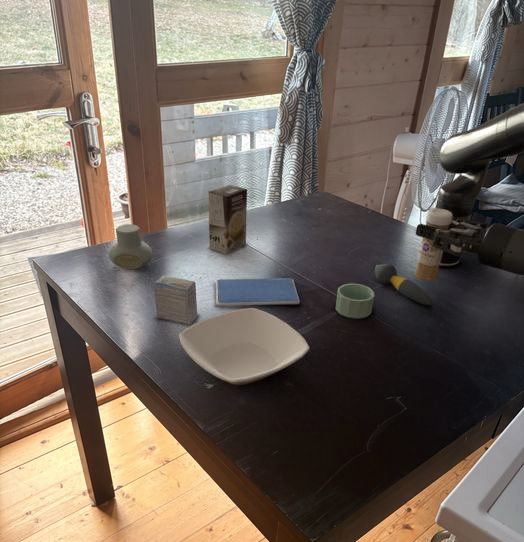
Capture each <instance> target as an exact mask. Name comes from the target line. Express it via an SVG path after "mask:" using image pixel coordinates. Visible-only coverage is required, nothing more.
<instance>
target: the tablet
mask: <svg viewBox="0 0 524 542" xmlns="http://www.w3.org/2000/svg"><path fill="white" fill-rule="evenodd" d="M215 303H216V306H217V307H235V306H273V305H275V306H276V305H280V306H281V305H299V304H300V303H301V299H300V298H299V294H298V291H297V288H296V285H295V282H294V279H293V278H291V277H282V278H281V277H277V278H275V277H274V278H226V279H225V278H224V279H223V278H221V279H215Z"/></svg>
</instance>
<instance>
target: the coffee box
mask: <svg viewBox="0 0 524 542" xmlns="http://www.w3.org/2000/svg"><path fill="white" fill-rule="evenodd" d="M247 206H248V188H245V187H241V186H238V185H232V184H228V185H225V186H221V187H219V188H215V189H212V190H209V191H208V235H209V236H208V244H209V245H208V246H209V249H210V250H213V251H216V252H219V253H222V254H224V255H227V254H229V253H231V252H234V251H236V250H238V249H239V248H241V247H244V246H245V245H247V215H248V212H247V211H248V210H247V209H248V208H247Z"/></svg>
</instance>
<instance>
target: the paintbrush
mask: <svg viewBox="0 0 524 542" xmlns="http://www.w3.org/2000/svg"><path fill="white" fill-rule="evenodd" d="M374 274H375V278H376V280H377V281H378V282H379V283H380V284H383V285H389V284H392V285H393V287H394V288H395V289H396V290H397V291H398V292H399V294H401V295H402V296H404V297H406V298H408V299H410V300H411V301H414V302H416V303H417V304H420V305H422V306H423V305H424V306H432V305H433V300H432V299H431V297H430V296H429V295H428V294H427V293H426V292H425V290H423V289H422V288H421V287H420V286H419V285H417V284H416V283H415V282H414V281H412V280H410V279H408V278H406V277H403V276H399V275H398V271H397V269H396V267H395V266H393V265H392V264H390V263H381V264H376V265H375V268H374Z"/></svg>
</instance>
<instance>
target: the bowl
mask: <svg viewBox="0 0 524 542" xmlns="http://www.w3.org/2000/svg"><path fill="white" fill-rule="evenodd" d="M178 338H179V342H180V345H181V346H182V349H184V351H185V352H186V354H187V355H188V356H189V357H190V358H191V360H193V361H194V363H196V364H197V365H198V366H200V367H201V368H202V369H204V370H205V371H206V372H208V373H209V374H211V375H212V376H214V377H216V378H218V379H220V380H222V381H224V382H227V383H229V384H231V385H234V386H244V385H248V384H252V383H255V382H259V381H261V380H263V379H265V378H268V377H269V376H272V375H274V374H276V373H277V372H279V371H282V370H283V369H285V368H287V367H289V366H291V365H292V364H294V363H295V362H297V361H299V360H300V359H302V358H303V357H304V356H305V355H307V353H308V352H309V351H310V345H309V344H308V343H307V341H306V339H305V338H304V336H303V335H301V334H300V333H299V332H298V331H297V330H296V329H294V328H293V327H292V326H291V325H289V323H286V322H284V321H283V320H282V319H280V318H279V317H276V316H275V315H273V314H271V313H268V312H266V311H265V310H260V309H258V308H255V307H250V308H241V309H236V310H231V311H228V312H223V313H219V314H215V315H213V316H211V317H208V318H205V319H203V320H201V321H198V322H196V323H194V324H192V325H190V326H188V327H187V328H185V329H184V330H182V332H180V333H179V335H178Z"/></svg>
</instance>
